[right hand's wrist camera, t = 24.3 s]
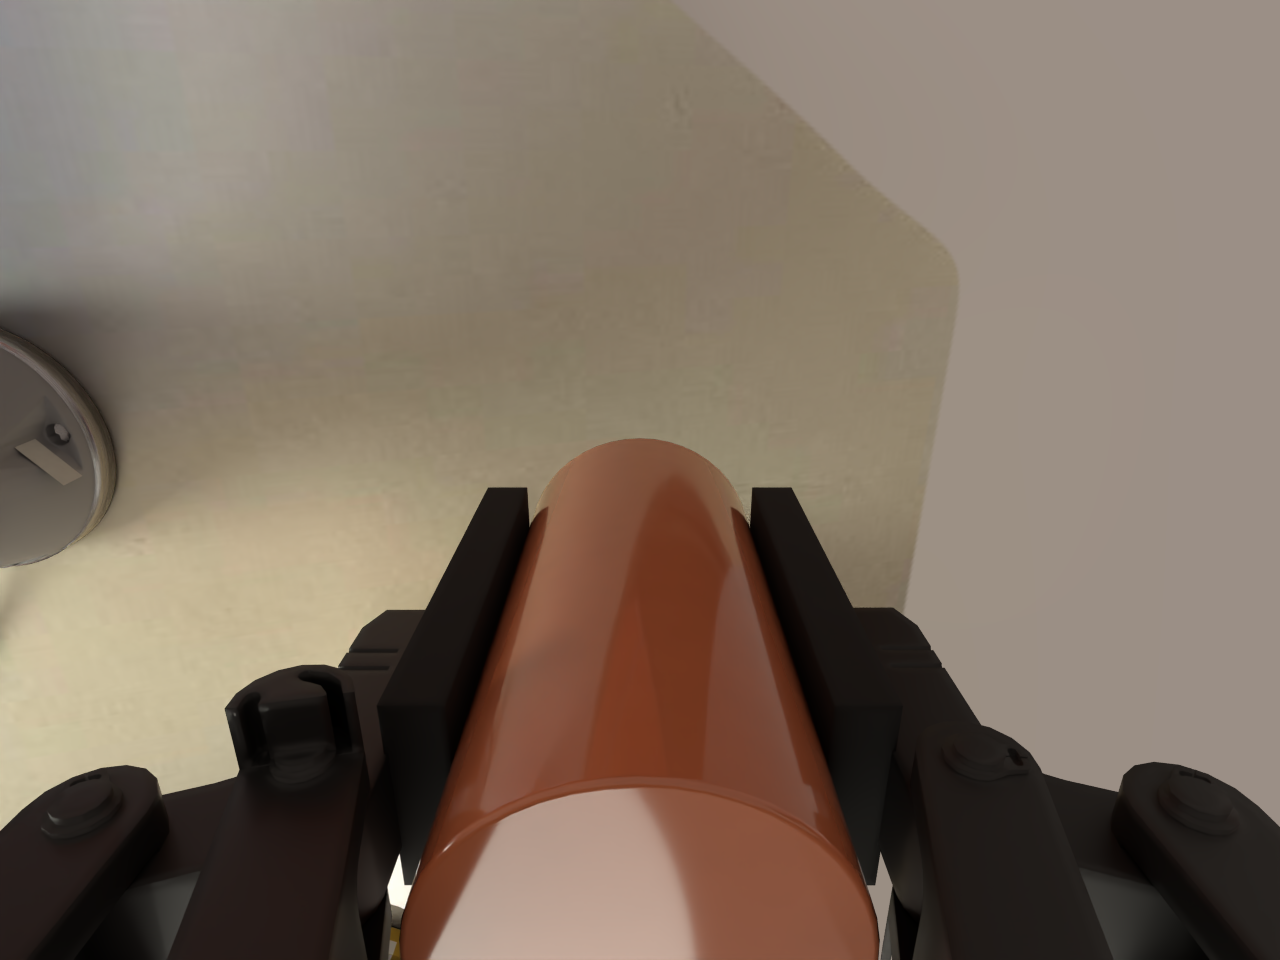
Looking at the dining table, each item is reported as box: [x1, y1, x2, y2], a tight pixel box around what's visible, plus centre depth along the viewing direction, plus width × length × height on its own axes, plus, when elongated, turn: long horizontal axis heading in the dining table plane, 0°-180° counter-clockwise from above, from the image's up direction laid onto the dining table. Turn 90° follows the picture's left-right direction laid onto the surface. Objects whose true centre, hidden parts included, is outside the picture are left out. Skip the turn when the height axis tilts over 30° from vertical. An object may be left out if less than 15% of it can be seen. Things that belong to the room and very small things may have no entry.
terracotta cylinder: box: [399, 438, 880, 960], centre depth 11 cm, size 4×4×9 cm
